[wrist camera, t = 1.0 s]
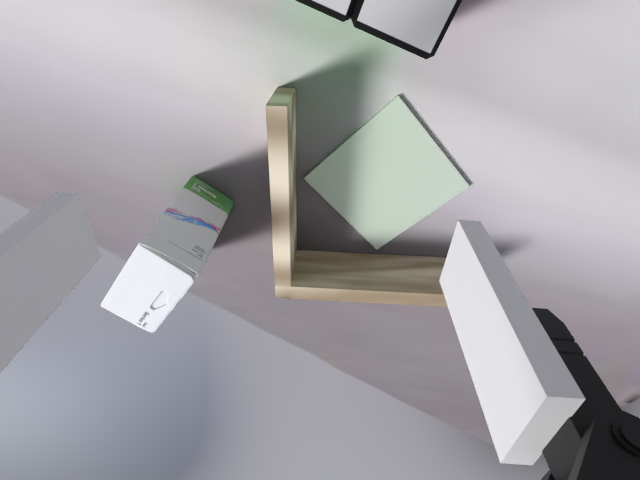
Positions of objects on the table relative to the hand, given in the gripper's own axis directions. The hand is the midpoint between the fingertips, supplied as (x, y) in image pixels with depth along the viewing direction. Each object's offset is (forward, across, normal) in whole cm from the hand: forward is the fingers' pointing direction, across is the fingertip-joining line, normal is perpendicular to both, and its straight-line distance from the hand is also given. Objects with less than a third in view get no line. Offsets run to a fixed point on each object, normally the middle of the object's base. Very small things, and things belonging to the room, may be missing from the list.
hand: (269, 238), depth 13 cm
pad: (+21, +8, -7) cm, 24 cm away
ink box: (+22, -11, -13) cm, 28 cm away
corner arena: (+21, +7, -8) cm, 24 cm away
